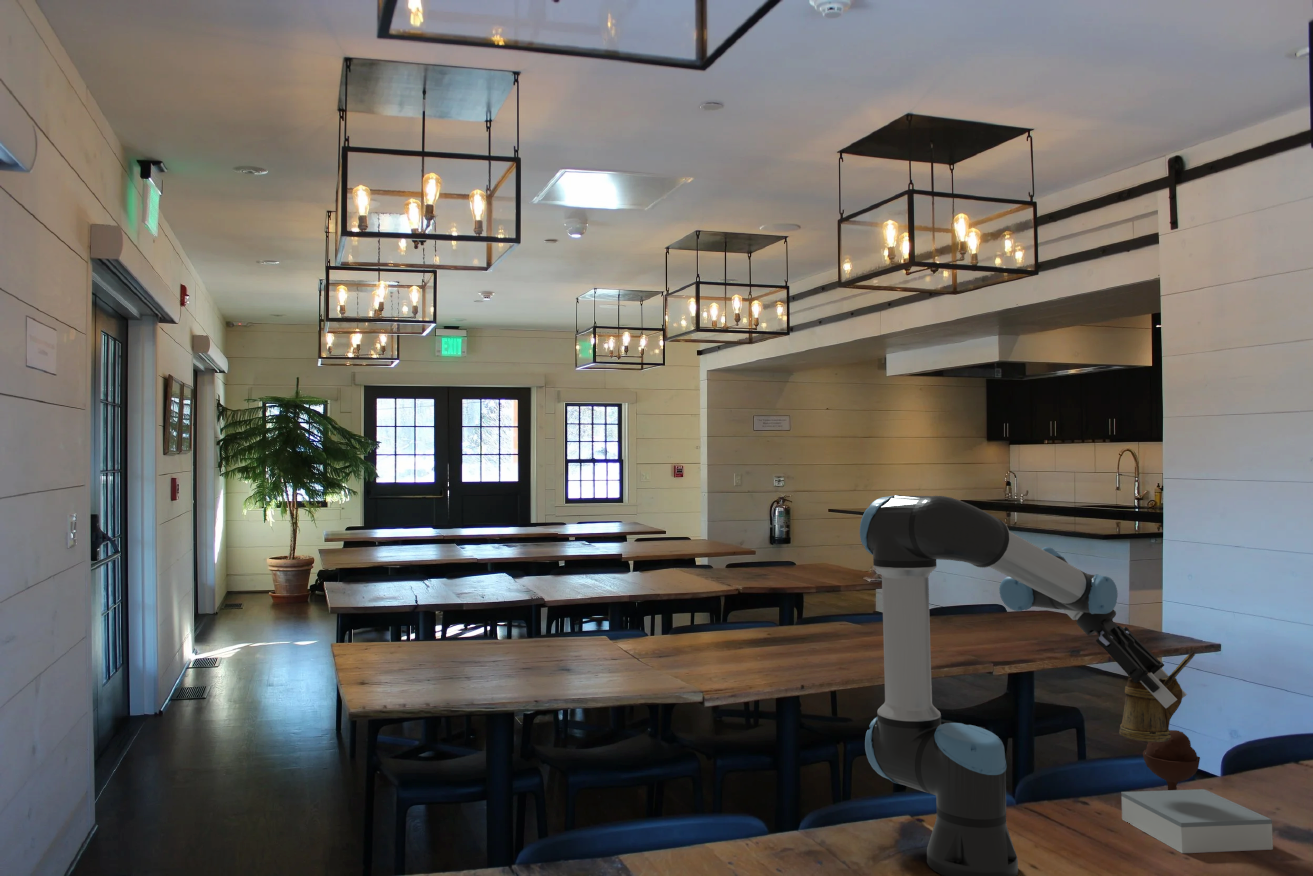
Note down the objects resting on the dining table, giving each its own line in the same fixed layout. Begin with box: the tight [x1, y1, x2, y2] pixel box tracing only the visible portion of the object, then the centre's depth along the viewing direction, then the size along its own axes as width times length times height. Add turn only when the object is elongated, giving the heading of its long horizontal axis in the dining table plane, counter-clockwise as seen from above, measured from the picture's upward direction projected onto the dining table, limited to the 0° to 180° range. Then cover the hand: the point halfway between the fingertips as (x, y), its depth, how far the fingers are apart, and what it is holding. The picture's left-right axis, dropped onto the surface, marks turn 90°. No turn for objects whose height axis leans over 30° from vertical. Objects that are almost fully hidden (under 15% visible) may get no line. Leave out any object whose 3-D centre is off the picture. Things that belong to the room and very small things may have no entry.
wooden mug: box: [1118, 651, 1196, 743], centre depth 189 cm, size 9×14×18 cm, turn 58°
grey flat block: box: [1120, 788, 1274, 854], centre depth 181 cm, size 18×18×5 cm
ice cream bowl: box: [1142, 729, 1201, 790], centre depth 201 cm, size 11×11×15 cm
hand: (1176, 701), depth 186 cm, fingers closed on wooden mug, 6 cm apart
